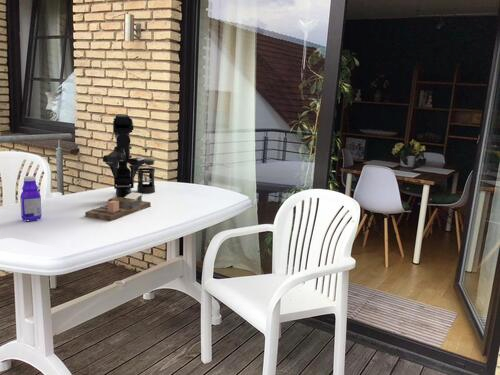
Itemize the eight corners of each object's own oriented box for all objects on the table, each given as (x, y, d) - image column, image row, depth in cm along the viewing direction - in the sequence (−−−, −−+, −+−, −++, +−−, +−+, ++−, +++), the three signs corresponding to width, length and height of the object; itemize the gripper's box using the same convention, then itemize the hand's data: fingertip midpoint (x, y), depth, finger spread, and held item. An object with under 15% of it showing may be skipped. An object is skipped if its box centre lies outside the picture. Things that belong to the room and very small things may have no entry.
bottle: (38, 216, 186) (36, 175, 182) (43, 219, 182) (41, 177, 178) (19, 219, 180) (16, 176, 177) (24, 223, 177) (22, 179, 173)
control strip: (85, 216, 189) (84, 204, 187) (127, 202, 214) (127, 192, 213) (110, 221, 184) (110, 208, 183) (150, 206, 209) (150, 195, 208)
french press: (148, 194, 232) (148, 150, 227) (132, 192, 235) (132, 148, 230) (160, 190, 243) (160, 147, 238) (145, 188, 246) (145, 146, 241)
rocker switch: (124, 200, 206) (123, 197, 205) (132, 194, 211) (131, 192, 210) (135, 201, 204) (134, 199, 203) (142, 196, 209) (142, 193, 208)
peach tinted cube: (107, 211, 189) (107, 202, 188) (113, 209, 192) (113, 200, 191) (113, 212, 188) (113, 203, 187) (119, 210, 191) (118, 201, 190)
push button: (110, 203, 201) (110, 198, 201) (116, 201, 205) (116, 196, 204) (131, 207, 197) (131, 201, 197) (136, 205, 201) (136, 199, 200)
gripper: (93, 144, 196) (94, 179, 200) (129, 147, 190) (129, 184, 193) (110, 142, 207) (111, 175, 210) (144, 145, 200) (145, 180, 203)
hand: (123, 179), depth 204 cm, fingers open, 9 cm apart
